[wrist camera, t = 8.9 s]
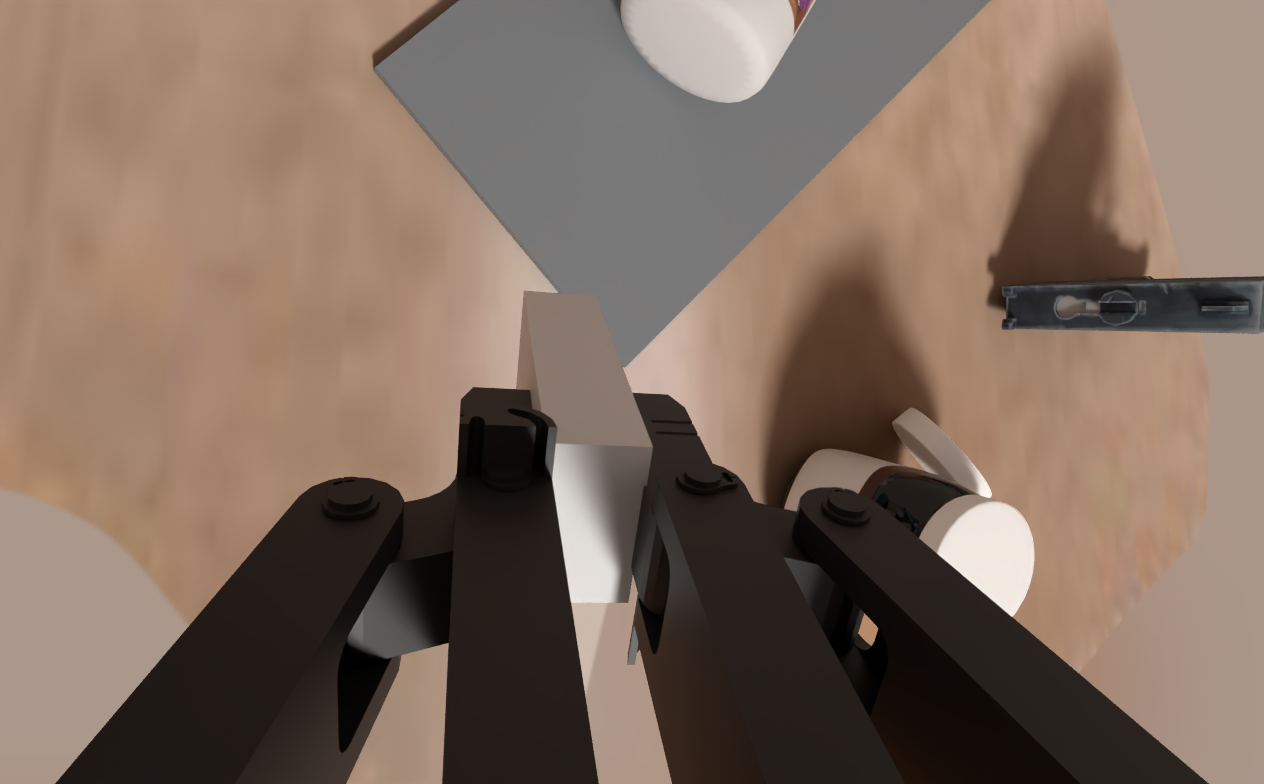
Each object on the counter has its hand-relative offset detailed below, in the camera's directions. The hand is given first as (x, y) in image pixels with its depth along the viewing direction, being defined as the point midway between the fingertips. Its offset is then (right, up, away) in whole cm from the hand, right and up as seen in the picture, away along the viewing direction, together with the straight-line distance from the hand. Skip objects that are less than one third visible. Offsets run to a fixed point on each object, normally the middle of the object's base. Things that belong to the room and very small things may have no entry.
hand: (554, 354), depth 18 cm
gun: (+31, +6, +39) cm, 51 cm away
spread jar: (+15, -7, +33) cm, 37 cm away
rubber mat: (+7, +19, +26) cm, 33 cm away
